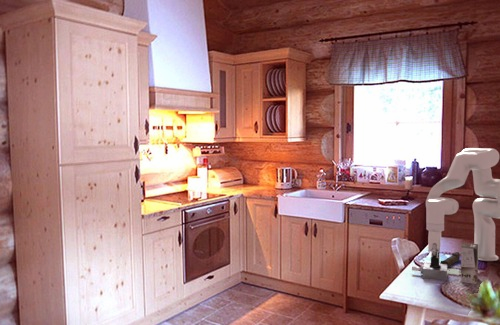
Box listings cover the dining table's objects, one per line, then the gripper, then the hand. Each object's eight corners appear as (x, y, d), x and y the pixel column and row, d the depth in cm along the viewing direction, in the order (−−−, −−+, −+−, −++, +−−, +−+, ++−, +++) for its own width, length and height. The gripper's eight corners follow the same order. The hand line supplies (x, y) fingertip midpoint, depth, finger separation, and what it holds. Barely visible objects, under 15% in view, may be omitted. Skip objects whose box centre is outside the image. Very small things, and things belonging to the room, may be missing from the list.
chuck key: (439, 274, 197) (439, 255, 196) (438, 276, 194) (439, 257, 193) (431, 273, 198) (432, 254, 197) (431, 275, 195) (431, 256, 195)
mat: (441, 268, 208) (441, 267, 208) (459, 270, 204) (459, 269, 204) (440, 273, 201) (440, 272, 201) (459, 275, 197) (459, 274, 197)
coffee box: (476, 285, 185) (477, 248, 184) (460, 282, 188) (460, 247, 187) (478, 278, 192) (478, 243, 191) (462, 276, 196) (462, 242, 195)
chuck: (413, 271, 205) (413, 261, 205) (447, 274, 198) (447, 264, 198) (411, 277, 196) (411, 267, 196) (446, 281, 189) (446, 271, 189)
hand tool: (448, 269, 206) (448, 260, 206) (439, 267, 209) (440, 258, 209) (464, 261, 219) (464, 252, 218) (456, 259, 222) (456, 250, 221)
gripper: (427, 222, 204) (427, 256, 205) (425, 230, 188) (425, 267, 190) (444, 223, 200) (444, 258, 202) (443, 231, 185) (443, 269, 186)
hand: (435, 262), depth 196 cm, fingers open, 9 cm apart
